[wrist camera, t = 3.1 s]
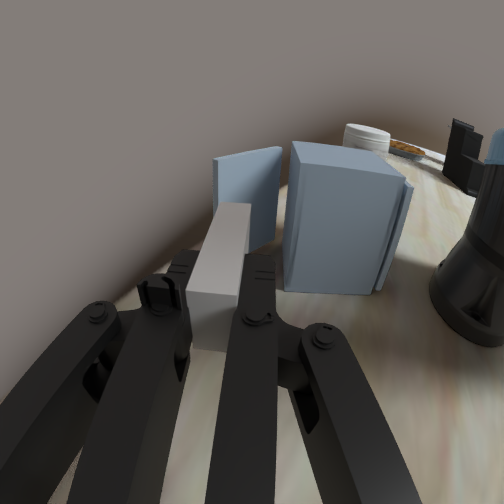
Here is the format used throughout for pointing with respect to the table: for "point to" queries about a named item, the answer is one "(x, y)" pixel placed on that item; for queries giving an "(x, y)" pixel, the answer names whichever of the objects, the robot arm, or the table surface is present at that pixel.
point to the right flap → (251, 188)
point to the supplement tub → (367, 139)
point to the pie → (405, 150)
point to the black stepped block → (464, 158)
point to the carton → (341, 219)
